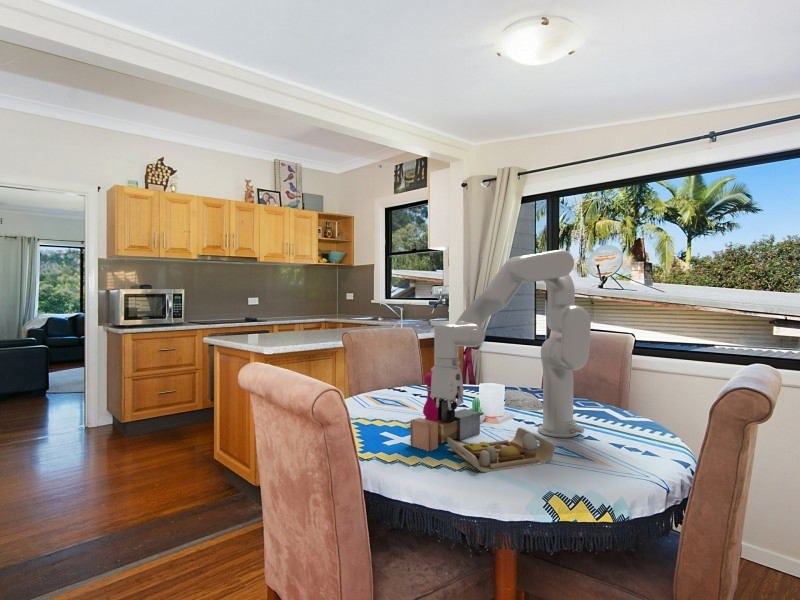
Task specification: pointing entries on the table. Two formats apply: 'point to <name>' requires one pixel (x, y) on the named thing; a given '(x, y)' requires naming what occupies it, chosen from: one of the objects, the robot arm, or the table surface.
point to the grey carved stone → (522, 401)
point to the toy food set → (506, 452)
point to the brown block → (424, 434)
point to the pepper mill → (430, 401)
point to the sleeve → (467, 423)
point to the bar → (446, 425)
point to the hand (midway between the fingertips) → (446, 420)
